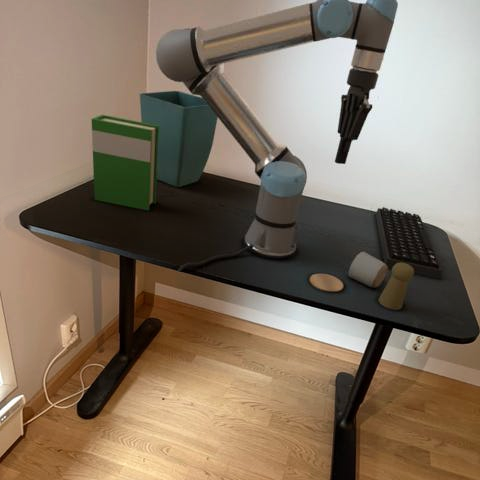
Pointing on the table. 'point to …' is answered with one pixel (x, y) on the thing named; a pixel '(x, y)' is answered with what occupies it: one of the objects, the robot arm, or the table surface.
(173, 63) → the robot arm
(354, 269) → the ceramic mug
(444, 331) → the table surface
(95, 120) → the hardback book
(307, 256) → the table surface
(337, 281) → the cork coaster
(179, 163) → the flower pot
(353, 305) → the table surface
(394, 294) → the pepper shaker
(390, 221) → the computer keyboard
